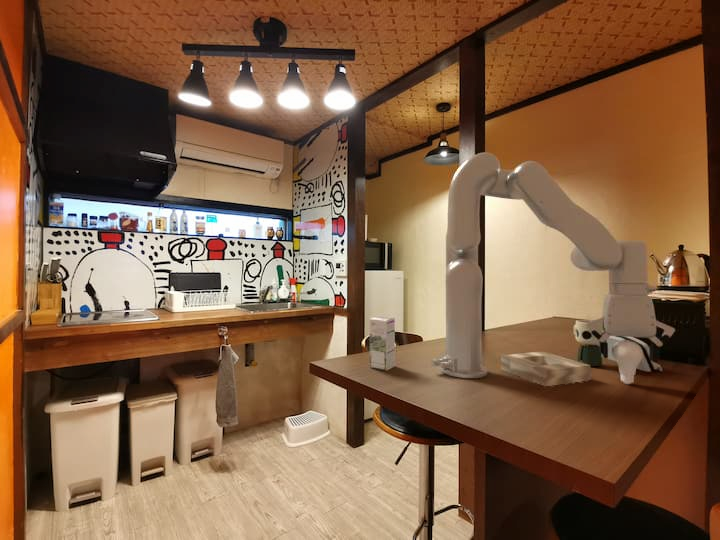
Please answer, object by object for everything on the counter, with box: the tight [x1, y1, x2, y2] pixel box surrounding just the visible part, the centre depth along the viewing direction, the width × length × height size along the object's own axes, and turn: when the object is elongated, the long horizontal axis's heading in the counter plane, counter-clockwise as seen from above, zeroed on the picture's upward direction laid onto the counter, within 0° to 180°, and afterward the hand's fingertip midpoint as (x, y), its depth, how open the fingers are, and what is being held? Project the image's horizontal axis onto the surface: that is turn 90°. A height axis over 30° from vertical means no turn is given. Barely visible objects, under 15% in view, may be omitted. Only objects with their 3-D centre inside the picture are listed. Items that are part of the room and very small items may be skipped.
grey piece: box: [598, 335, 663, 373], centre depth 101 cm, size 17×5×10 cm, turn 5°
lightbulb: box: [612, 340, 643, 385], centre depth 83 cm, size 6×6×11 cm
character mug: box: [573, 319, 608, 367], centre depth 99 cm, size 11×7×13 cm, turn 13°
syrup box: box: [369, 316, 396, 371], centre depth 97 cm, size 6×6×14 cm
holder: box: [500, 351, 591, 387], centre depth 90 cm, size 15×15×4 cm
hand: (628, 359), depth 82 cm, fingers open, 9 cm apart
